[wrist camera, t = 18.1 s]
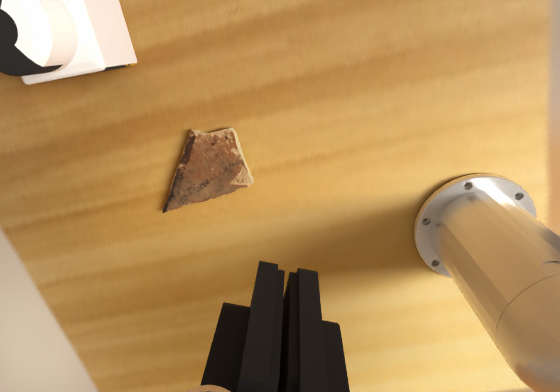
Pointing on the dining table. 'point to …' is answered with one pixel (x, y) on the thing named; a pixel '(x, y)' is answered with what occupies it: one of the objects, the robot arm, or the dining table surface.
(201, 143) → the shard
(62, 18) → the medicine bottle
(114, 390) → the dining table surface
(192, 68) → the dining table surface
